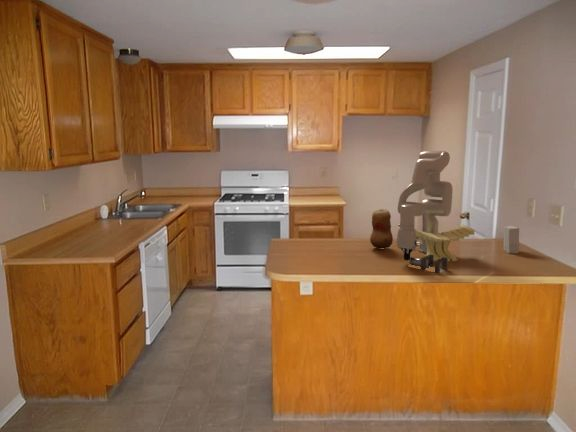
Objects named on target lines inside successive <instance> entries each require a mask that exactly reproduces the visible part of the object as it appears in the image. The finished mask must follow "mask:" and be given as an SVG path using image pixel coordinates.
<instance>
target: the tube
mask: <svg viewBox="0 0 576 432" xmlns="http://www.w3.org/2000/svg"><path fill="white" fill-rule="evenodd" d="M408 262H409V263H408V264H411V265H415V266H420V267H421V258H419V257H414V256H413V257H412V256H410V260H408ZM429 266H430V261H429V260H428V259H427V260H426V268H429Z"/></svg>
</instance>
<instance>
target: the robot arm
mask: <svg viewBox="0 0 576 432" xmlns="http://www.w3.org/2000/svg"><path fill="white" fill-rule="evenodd" d="M450 159H451V157H450V154H449V152H448V151H445V150H426V151H425V150H424V151H421V152H420V153H419V154H418V160H416V162H415V164H414V165H415V166H414V169H413V173H412V177H411V182H410V183H409V185H408V186H406V187H405V188H404V189H403V191H402V192H401V193H400V195H399V199H398V202H397V203H398V204H397V212H398V214H399V217H400V218H399V219H400V220H399V221H400V223H399V224H398V227H399V229H397V230H398V231H397V236H396V237H397V238H396V246H397V248H398V249H400V250H401V251H402V253H403V260H404V261H409V260H410V258H411V253H412V252H416V251H417V247H419V248H418V251H419V252H420V251H421V252H420V253H423V252H424V254H427V246H426V243H425V240H423V239H422V240H420V241H421V242H420V241H418V239H417V237H416V231H415V230H414V228H415V219H416V218H415V217H421V231H423V232H425V233H432V234H433V233H439V220H438V219H437V217H448V216H450V214H451V213H452V207H453V206H452V203H453V185H452V183H451V182H449V181H446V180H442V181H441V173H442V172H443V171H444V170H445V169H446V168H447V166H448V165H449V163H450ZM422 190H423V191H424V192H423V193H424V195H425V196H426V197H430V198H427V199H423V200H422V201H421V202H416V201H408V198H409V197H410V196H411V195H412V194H414V193H417V192H420V191H422ZM433 198H441V199H433ZM436 216H437V217H436Z"/></svg>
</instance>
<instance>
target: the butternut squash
mask: <svg viewBox="0 0 576 432" xmlns="http://www.w3.org/2000/svg"><path fill="white" fill-rule="evenodd" d="M391 218H392V216H391V212H390V211H389V209H384V208H379V209H376V210H374V211H373V212H372V215H371V226H372V231H371V235H370V238H369V239H370V240H369V241H370V243H371V245H372V246H373V247H374V248H376V249H378V248H385V249H386V248H390V246H392V245H393V241H394V239H393V238H394V237H393V233H392V231H391V229H392V225H391V224H392V223H391Z"/></svg>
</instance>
